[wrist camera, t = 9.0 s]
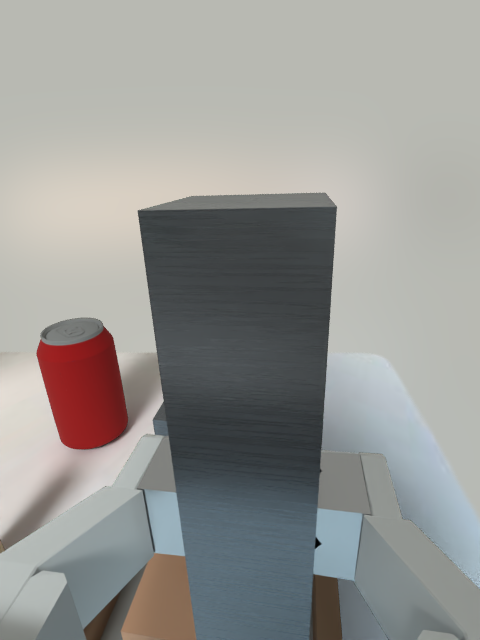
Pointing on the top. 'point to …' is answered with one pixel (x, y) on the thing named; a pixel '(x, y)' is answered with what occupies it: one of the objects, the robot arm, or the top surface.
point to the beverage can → (83, 382)
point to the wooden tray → (323, 618)
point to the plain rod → (1, 547)
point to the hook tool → (244, 397)
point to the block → (161, 602)
